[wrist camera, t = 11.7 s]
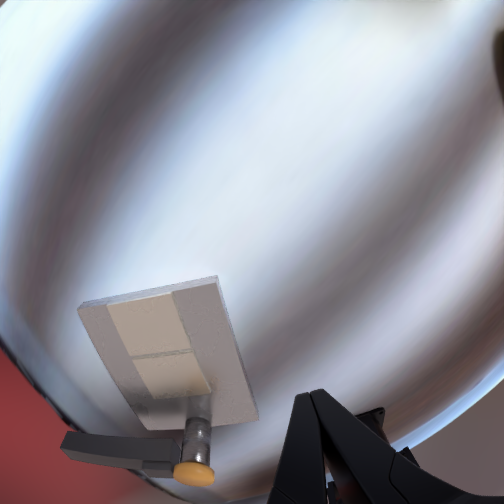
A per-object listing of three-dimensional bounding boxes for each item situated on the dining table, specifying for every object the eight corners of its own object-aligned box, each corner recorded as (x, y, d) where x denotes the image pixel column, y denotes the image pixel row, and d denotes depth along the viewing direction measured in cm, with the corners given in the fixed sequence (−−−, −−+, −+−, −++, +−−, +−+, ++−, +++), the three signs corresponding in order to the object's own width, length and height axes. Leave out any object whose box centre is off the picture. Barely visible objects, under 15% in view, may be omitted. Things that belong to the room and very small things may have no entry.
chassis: (259, 414, 24) (265, 468, 18) (152, 425, 24) (141, 473, 18) (217, 275, 19) (210, 324, 13) (83, 302, 19) (44, 346, 13)
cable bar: (209, 432, 20) (207, 469, 16) (219, 451, 21) (218, 485, 17) (64, 427, 19) (52, 453, 16) (80, 445, 20) (70, 471, 17)
